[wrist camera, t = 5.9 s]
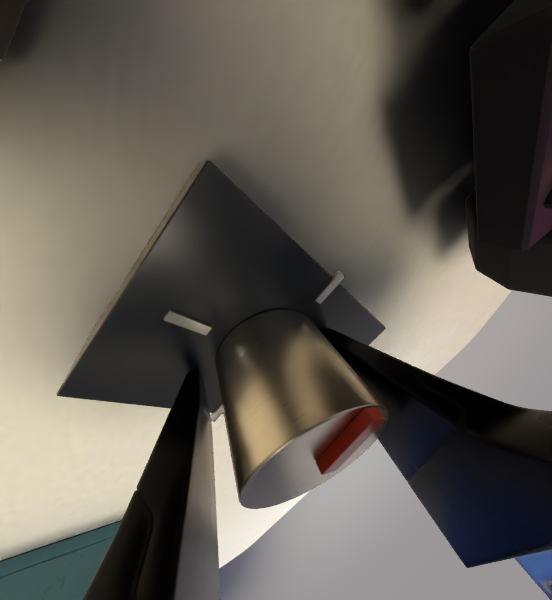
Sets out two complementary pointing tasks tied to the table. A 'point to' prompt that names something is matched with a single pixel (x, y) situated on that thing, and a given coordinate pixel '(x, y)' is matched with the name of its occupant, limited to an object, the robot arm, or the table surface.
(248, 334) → the dial
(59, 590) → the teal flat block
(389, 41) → the table surface
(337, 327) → the thermostat
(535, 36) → the toy car
